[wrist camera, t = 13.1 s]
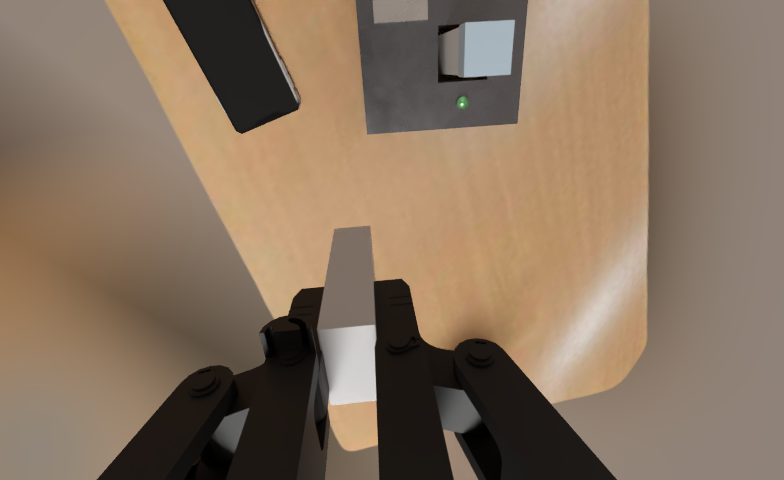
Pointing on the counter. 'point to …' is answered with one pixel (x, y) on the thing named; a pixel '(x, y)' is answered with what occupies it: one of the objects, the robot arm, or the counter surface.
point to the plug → (477, 49)
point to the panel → (432, 66)
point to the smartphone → (237, 59)
